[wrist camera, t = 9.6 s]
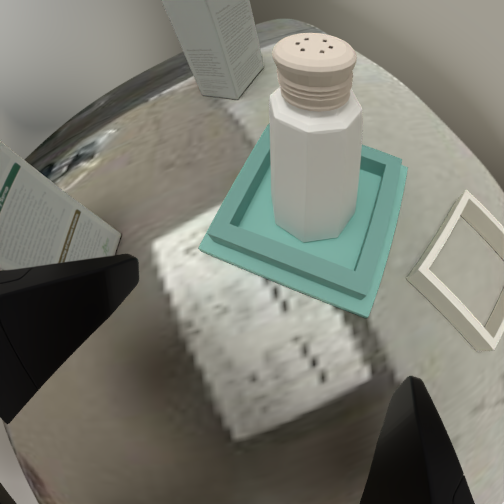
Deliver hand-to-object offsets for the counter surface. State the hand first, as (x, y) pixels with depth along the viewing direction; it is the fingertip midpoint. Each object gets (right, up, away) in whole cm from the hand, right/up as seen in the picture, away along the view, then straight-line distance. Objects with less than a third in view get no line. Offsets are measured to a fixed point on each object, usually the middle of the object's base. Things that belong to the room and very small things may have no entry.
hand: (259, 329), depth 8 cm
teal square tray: (+4, +5, +10) cm, 12 cm away
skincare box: (-2, +19, +16) cm, 25 cm away
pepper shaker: (+4, +5, +10) cm, 12 cm away
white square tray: (+14, +1, +7) cm, 16 cm away
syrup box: (-13, +1, +12) cm, 18 cm away
